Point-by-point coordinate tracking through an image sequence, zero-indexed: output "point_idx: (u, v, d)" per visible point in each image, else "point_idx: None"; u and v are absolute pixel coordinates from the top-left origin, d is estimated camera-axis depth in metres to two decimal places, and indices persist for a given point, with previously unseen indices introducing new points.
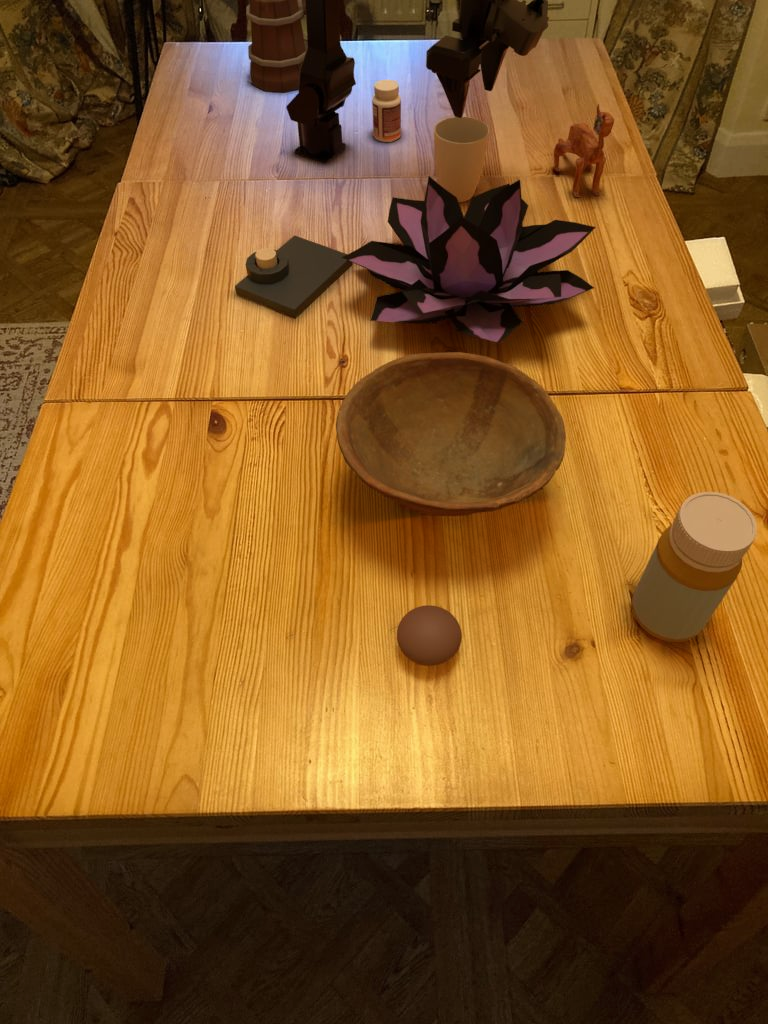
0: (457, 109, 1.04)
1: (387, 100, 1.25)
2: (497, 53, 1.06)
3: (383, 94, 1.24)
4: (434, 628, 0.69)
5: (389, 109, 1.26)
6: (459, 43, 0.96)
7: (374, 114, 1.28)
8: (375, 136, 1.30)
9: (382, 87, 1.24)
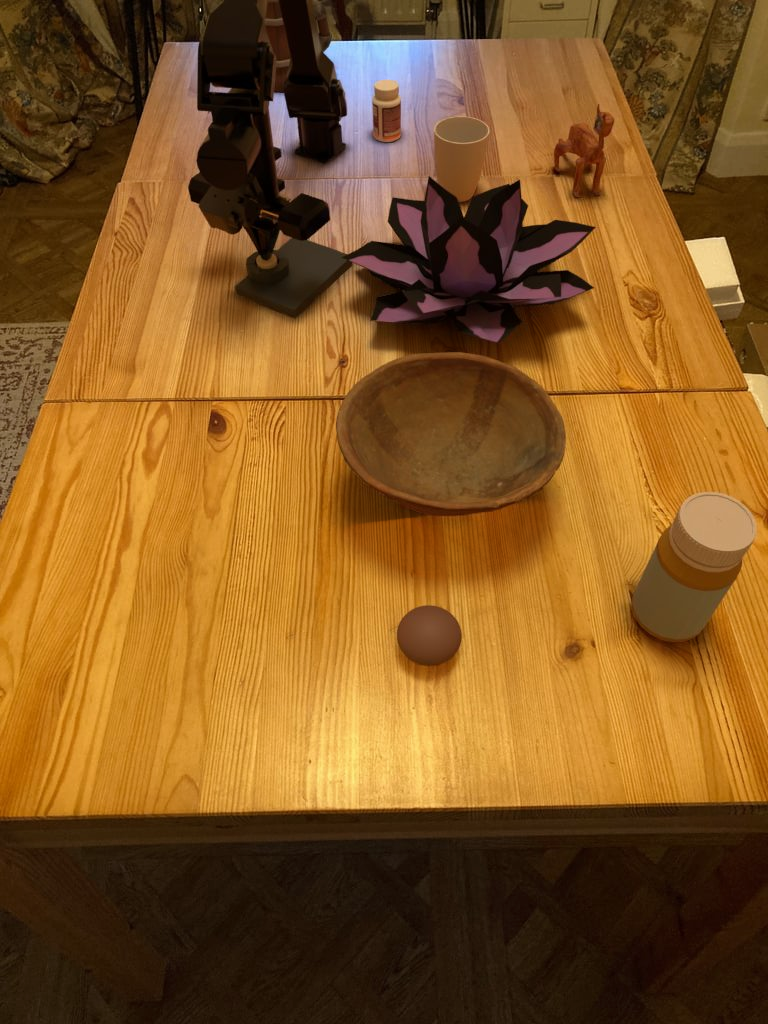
0: None
1: (387, 100, 1.25)
2: None
3: (383, 94, 1.24)
4: (434, 628, 0.69)
5: (389, 109, 1.26)
6: None
7: (374, 114, 1.28)
8: (375, 136, 1.30)
9: (382, 87, 1.24)
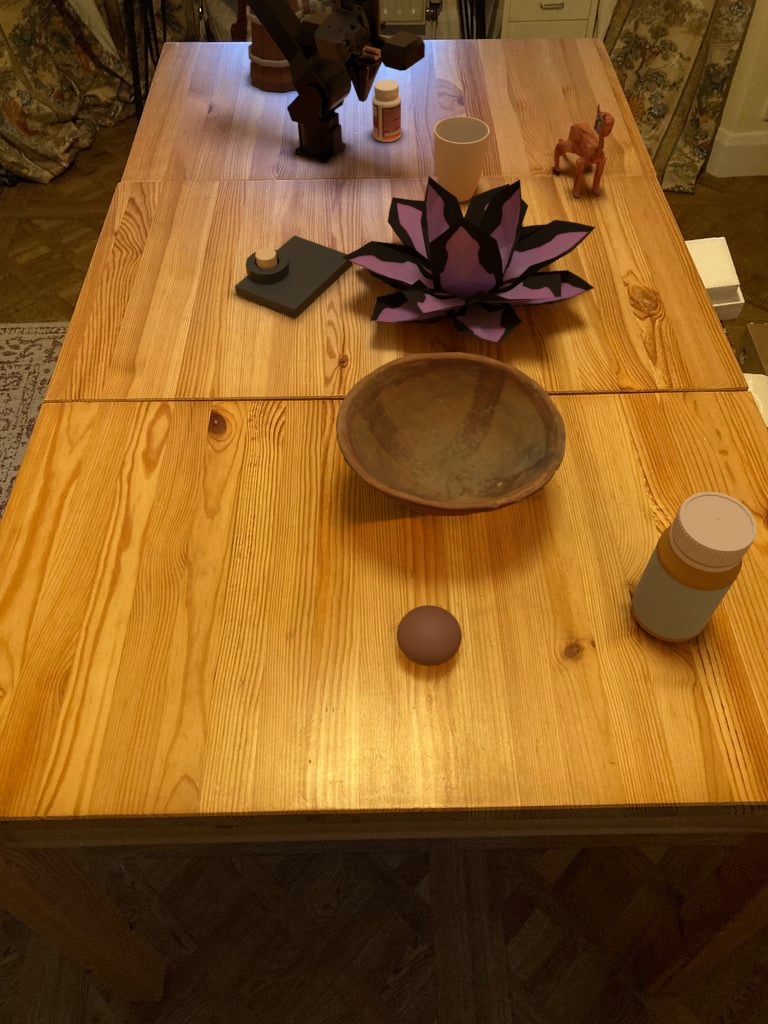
0: None
1: (388, 100, 1.25)
2: None
3: (383, 94, 1.24)
4: (434, 628, 0.69)
5: (389, 109, 1.26)
6: (321, 19, 1.12)
7: (374, 114, 1.28)
8: (375, 136, 1.30)
9: (382, 87, 1.24)
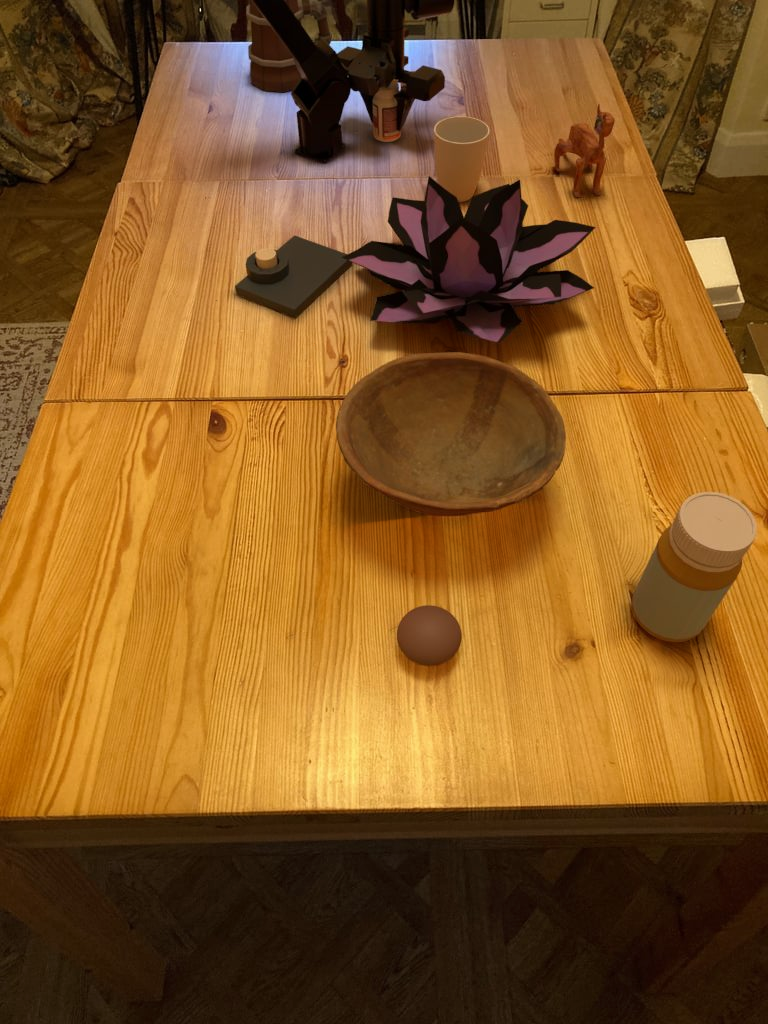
0: None
1: (388, 100, 1.25)
2: None
3: (383, 94, 1.24)
4: (434, 628, 0.69)
5: (389, 109, 1.26)
6: (349, 54, 1.24)
7: (374, 114, 1.28)
8: (375, 136, 1.30)
9: (382, 87, 1.24)
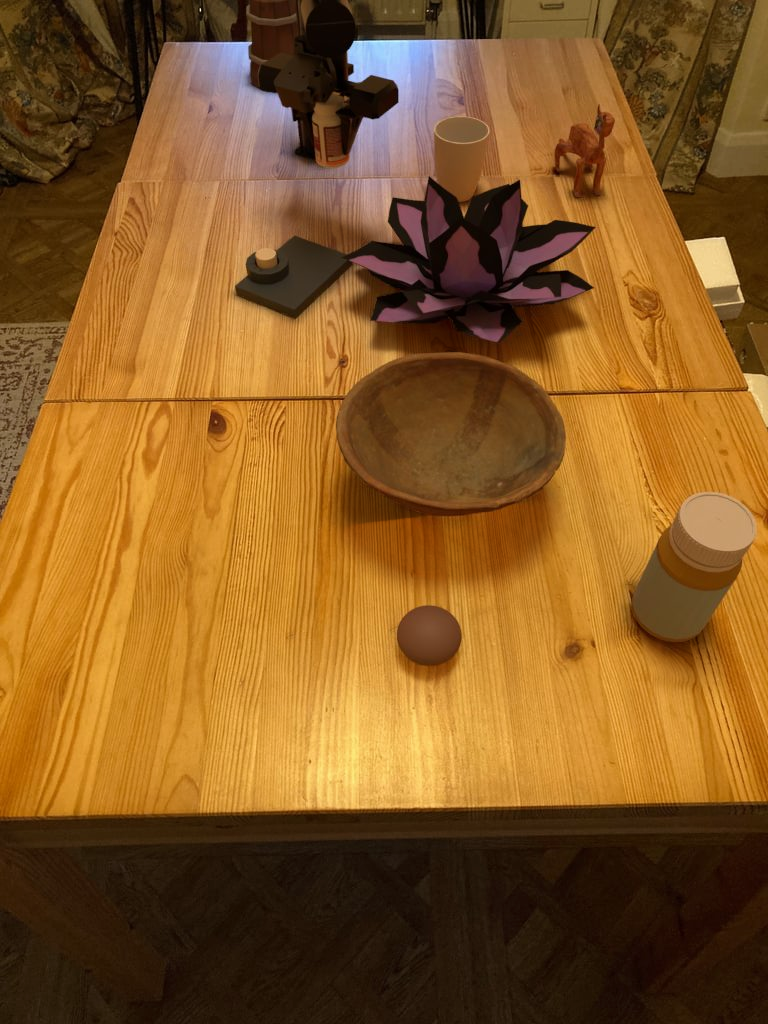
0: None
1: (330, 117, 1.02)
2: None
3: (324, 110, 1.01)
4: (434, 628, 0.69)
5: (332, 129, 1.02)
6: (281, 62, 1.01)
7: (315, 134, 1.04)
8: (318, 161, 1.07)
9: None
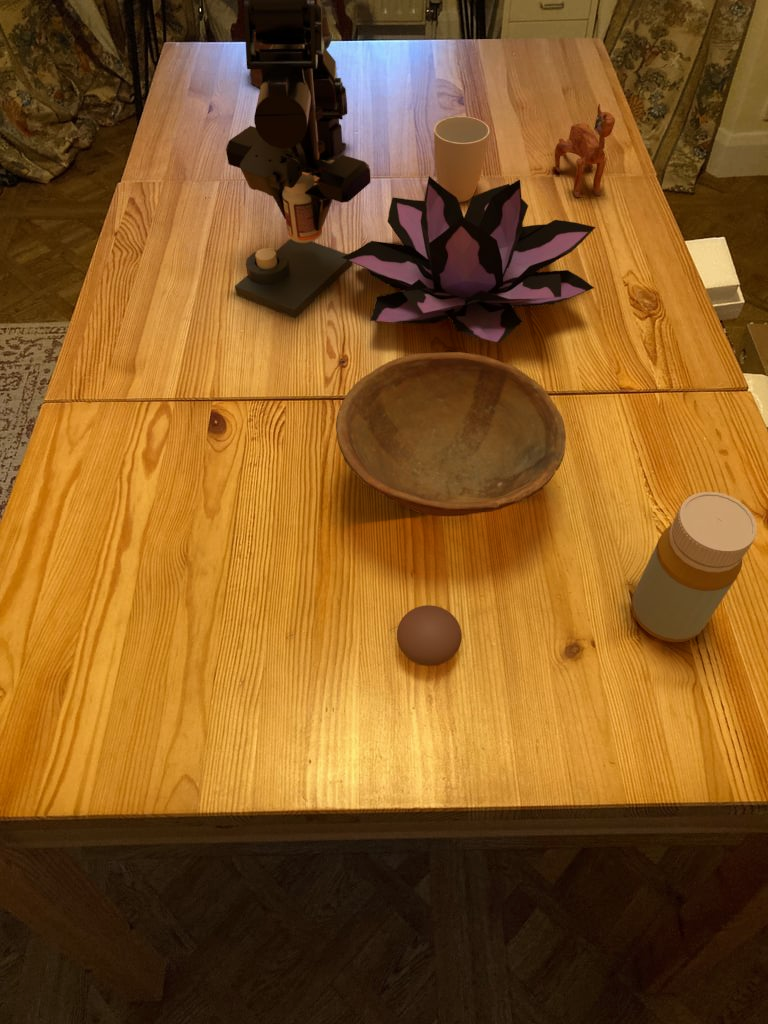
0: None
1: (300, 195, 0.98)
2: None
3: (294, 188, 0.97)
4: (434, 628, 0.69)
5: (303, 206, 0.99)
6: (250, 138, 0.97)
7: (285, 210, 1.01)
8: (289, 235, 1.04)
9: None
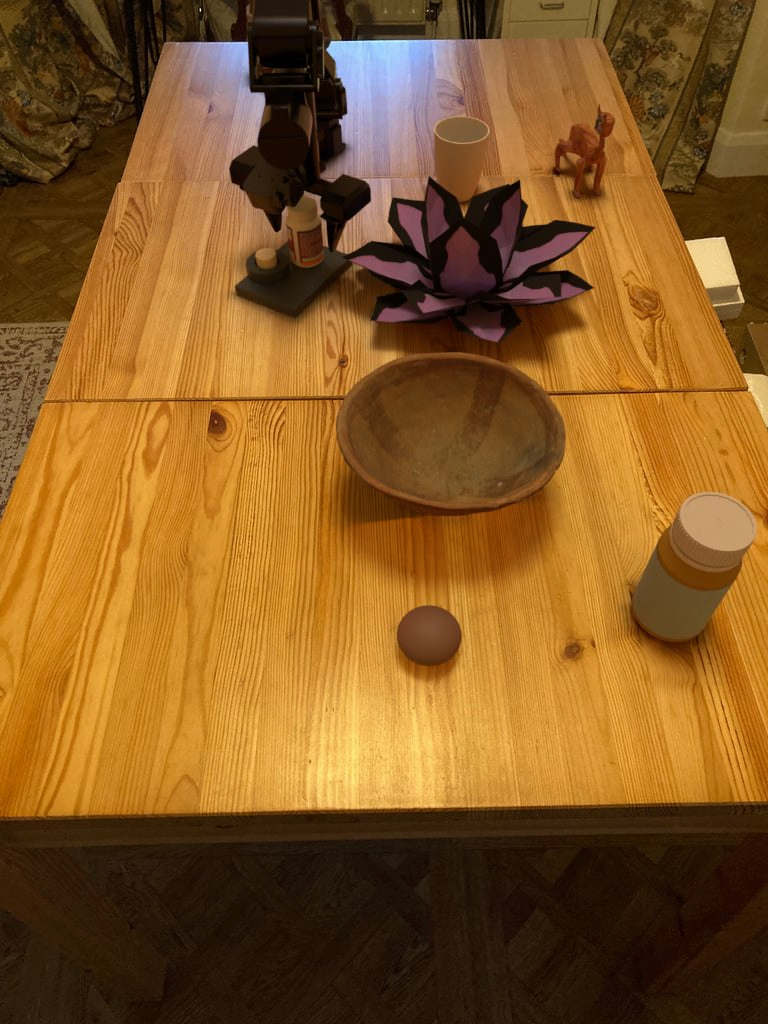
0: None
1: (303, 222, 1.01)
2: None
3: (297, 216, 1.01)
4: (434, 628, 0.69)
5: (306, 233, 1.02)
6: (253, 158, 0.99)
7: (289, 237, 1.04)
8: (292, 260, 1.07)
9: (295, 208, 1.01)
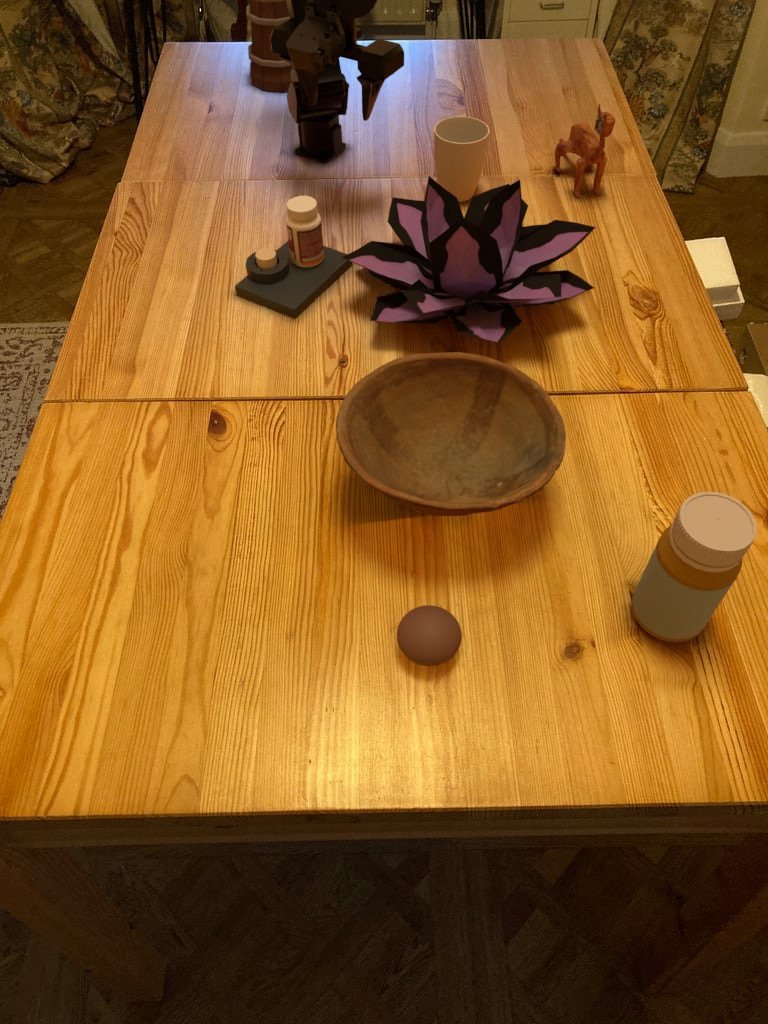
0: None
1: (303, 222, 1.01)
2: None
3: (297, 216, 1.01)
4: (434, 628, 0.69)
5: (306, 233, 1.02)
6: (293, 27, 1.06)
7: (289, 237, 1.04)
8: (292, 260, 1.07)
9: (295, 207, 1.01)
